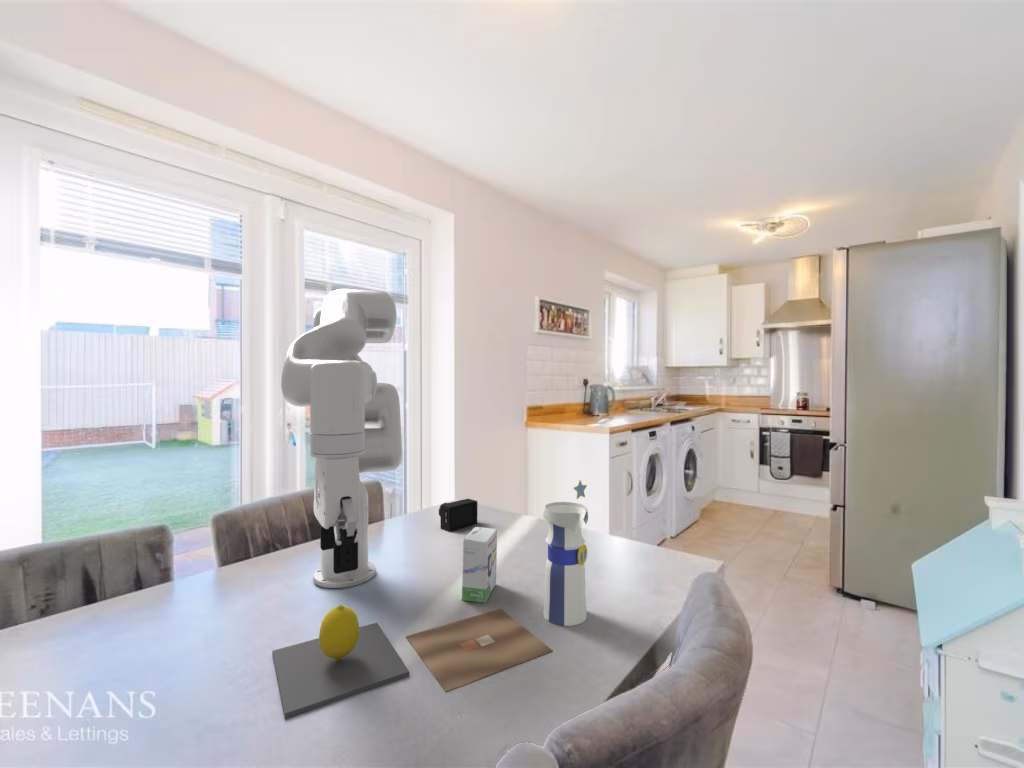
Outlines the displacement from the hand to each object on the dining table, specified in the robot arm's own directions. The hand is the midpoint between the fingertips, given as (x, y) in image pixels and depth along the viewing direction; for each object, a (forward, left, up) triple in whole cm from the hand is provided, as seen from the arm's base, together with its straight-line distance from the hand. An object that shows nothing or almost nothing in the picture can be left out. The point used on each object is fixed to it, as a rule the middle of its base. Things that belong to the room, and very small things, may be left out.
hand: (338, 558), depth 70 cm
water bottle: (+7, +38, -16) cm, 42 cm away
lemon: (0, 0, -15) cm, 15 cm away
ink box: (-9, +29, -16) cm, 34 cm away
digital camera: (-51, +44, -16) cm, 69 cm away
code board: (+7, +20, -16) cm, 26 cm away
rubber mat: (+1, 0, -16) cm, 15 cm away
